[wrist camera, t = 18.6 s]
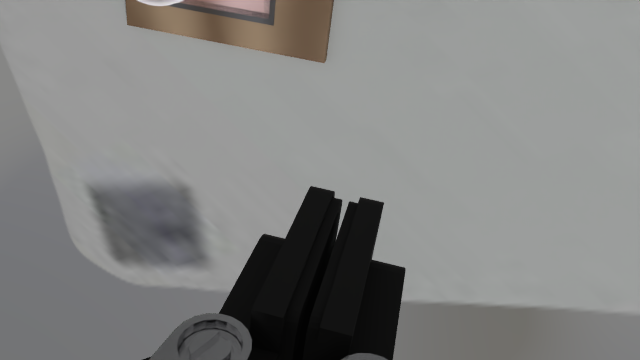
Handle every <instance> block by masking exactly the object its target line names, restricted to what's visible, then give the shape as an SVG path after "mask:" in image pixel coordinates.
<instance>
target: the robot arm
mask: <svg viewBox="0 0 640 360" xmlns="http://www.w3.org/2000/svg"><path fill="white" fill-rule="evenodd" d="M334 195H335V192H334V191H330V190H326V189H321V188H317V187H313V186H311V187H310V188H309V190H308V192H307V194H306V196H305V199H304V201H303V203H302V205H301V207H300V209H299V211H298V213H297V215H296V217H295V219H294V222H293V224H292V226H291V228H290V230H289V232H288V234H287V236H286V238H285V239H283V238H279V237H275V236H271V235H267V234H263V235H262V236H261V238H260V239H259V241H258V243H257V245H256V247H255V248H254V250H253V252H252V254H251V256H250V258H249V259H248V261H247V263H246V265H245V267H244V268H243V270H242V272H241V274H240V276H239V278H238V279H237V281H236V283H235V285H234V287H233V289H232V290H231V292H230V294H229V296H228V298H227V300H226V301H225V303H224V305H223V307H222V309H221V311H220V312H219V314H216V313H213V314H212V313H208V314H202V315H198V316H194V317H192V318H190V319H188V320H186V321H184V322H183V323H182V324H181V325H179V326H178V327H177V328H176V329H175V330H174V331H173V332H172V334H171V335H170V336H169V337H168V338H167V339H166V340H165V342H164V343H163V344H162V345H161V346H160V347H159V348H158V350H157V351H156V352H155V353H154V354H153V355H152V356H151V357H149V358H146V359H143V360H393V353H394V346H395V339H396V331H397V325H398V318H399V311H400V304H401V298H402V291H403V284H404V277H405V268H404V267H399V266H395V265H391V264H387V263H383V262H379V261H375V260H372V255H373V250H374V246H375V241H376V237H377V232H378V228H379V223H380V219H381V214H382V210H383V205H384V203H383V202H379V201H374V200H370V199H366V198H361V197H360V199H359V202H358V203H354V202H349V204H348V207H347V210H346V213H345V216H344V219H343V222H342V225H341V227H340V230H339V233H338V236H337V230H338V224H339V219H340V213H341V207H342V200H341V199H337V198H334ZM336 236H337V239H336Z"/></svg>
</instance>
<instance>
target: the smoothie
mask: <svg viewBox="0 0 640 360" xmlns="http://www.w3.org/2000/svg"><path fill="white" fill-rule="evenodd" d="M137 1H139V2H142V3H144V4H148V5H152V6H168V5H172V4H175V3H179V2H181V1H184V0H137Z"/></svg>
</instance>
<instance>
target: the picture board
mask: <svg viewBox="0 0 640 360" xmlns="http://www.w3.org/2000/svg"><path fill="white" fill-rule="evenodd" d="M333 2H334V0H184V1H181V2H179V3H175V4H172V5H168V6H152V5H148V4H144V3H142V2H139V1H137V0H126V12H127V25H131V26H136V27H141V28H146V29H151V30H156V31H162V32H167V33H172V34H177V35H182V36H187V37H192V38H198V39H203V40H208V41H213V42H218V43H223V44H229V45H234V46H239V47H244V48H249V49H254V50H260V51H265V52H270V53H275V54H280V55H285V56H290V57H296V58H301V59H306V60H311V61H316V62H321V63H325V61H326V57H327V49H328V41H329V33H330V25H331V18H332V10H333Z"/></svg>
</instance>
